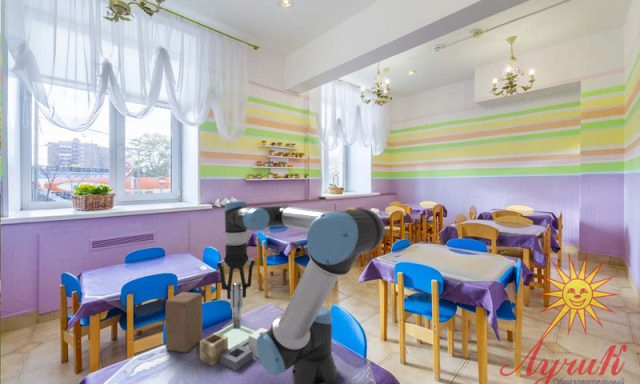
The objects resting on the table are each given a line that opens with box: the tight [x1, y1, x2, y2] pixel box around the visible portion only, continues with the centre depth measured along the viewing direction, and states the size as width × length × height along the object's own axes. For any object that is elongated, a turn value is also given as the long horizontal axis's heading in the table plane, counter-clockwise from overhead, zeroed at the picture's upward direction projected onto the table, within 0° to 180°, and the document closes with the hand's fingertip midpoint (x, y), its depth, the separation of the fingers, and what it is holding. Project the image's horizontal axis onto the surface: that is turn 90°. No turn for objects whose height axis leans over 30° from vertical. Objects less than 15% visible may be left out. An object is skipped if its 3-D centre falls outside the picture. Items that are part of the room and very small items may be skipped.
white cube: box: [248, 327, 269, 359], centre depth 105 cm, size 7×7×7 cm
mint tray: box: [216, 323, 256, 350], centre depth 113 cm, size 15×15×2 cm
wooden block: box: [165, 291, 203, 353], centre depth 109 cm, size 10×10×20 cm
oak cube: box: [199, 331, 228, 366], centre depth 101 cm, size 7×7×7 cm
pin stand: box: [220, 344, 254, 372], centre depth 99 cm, size 8×8×3 cm
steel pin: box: [232, 282, 242, 329], centre depth 99 cm, size 3×3×16 cm
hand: (236, 306), depth 99 cm, fingers closed on steel pin, 3 cm apart
